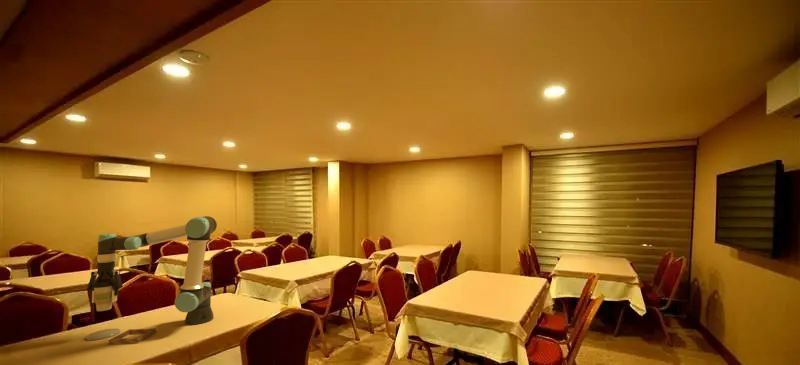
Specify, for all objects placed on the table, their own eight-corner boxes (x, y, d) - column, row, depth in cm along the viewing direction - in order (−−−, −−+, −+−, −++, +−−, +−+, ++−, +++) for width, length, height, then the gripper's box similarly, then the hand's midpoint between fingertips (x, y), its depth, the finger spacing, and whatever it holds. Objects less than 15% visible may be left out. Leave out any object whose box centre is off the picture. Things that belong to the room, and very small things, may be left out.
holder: (156, 332, 185) (156, 328, 185) (137, 343, 171) (137, 338, 171) (129, 333, 184) (129, 329, 184) (108, 344, 170) (108, 340, 170)
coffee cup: (101, 312, 177) (102, 284, 178) (87, 311, 179) (88, 284, 180) (120, 306, 186) (121, 280, 187) (106, 306, 188) (107, 279, 189)
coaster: (126, 329, 189) (126, 327, 189) (106, 339, 175) (106, 337, 175) (100, 330, 188) (100, 329, 188) (78, 341, 174) (78, 339, 174)
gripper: (132, 259, 189) (130, 299, 187) (90, 260, 187) (89, 300, 186) (122, 262, 181) (120, 303, 180) (79, 263, 180) (77, 304, 178)
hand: (104, 301), depth 183 cm, fingers closed on coffee cup, 10 cm apart
